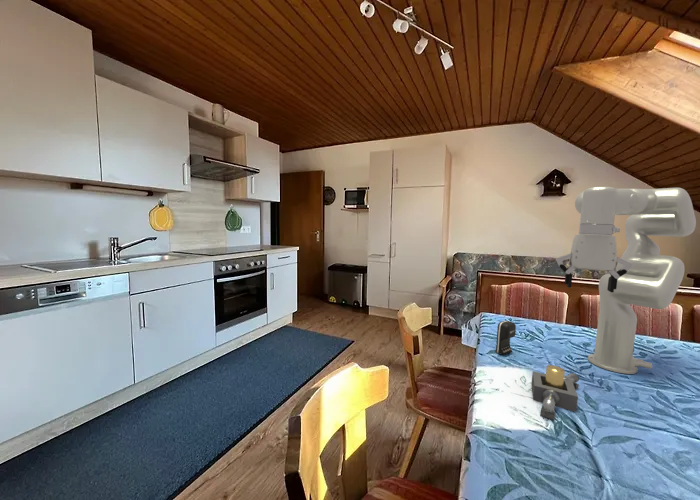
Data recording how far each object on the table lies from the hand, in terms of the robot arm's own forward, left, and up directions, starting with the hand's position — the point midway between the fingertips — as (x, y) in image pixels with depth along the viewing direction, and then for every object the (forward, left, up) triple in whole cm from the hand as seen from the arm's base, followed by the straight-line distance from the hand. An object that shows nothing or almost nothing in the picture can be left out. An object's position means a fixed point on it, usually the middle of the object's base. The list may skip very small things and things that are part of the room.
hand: (589, 289), depth 86 cm
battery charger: (+20, -10, -28) cm, 36 cm away
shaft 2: (+4, +8, -28) cm, 29 cm away
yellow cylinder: (+8, +15, -28) cm, 33 cm away
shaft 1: (+9, +23, -28) cm, 38 cm away
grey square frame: (+8, +15, -28) cm, 33 cm away
